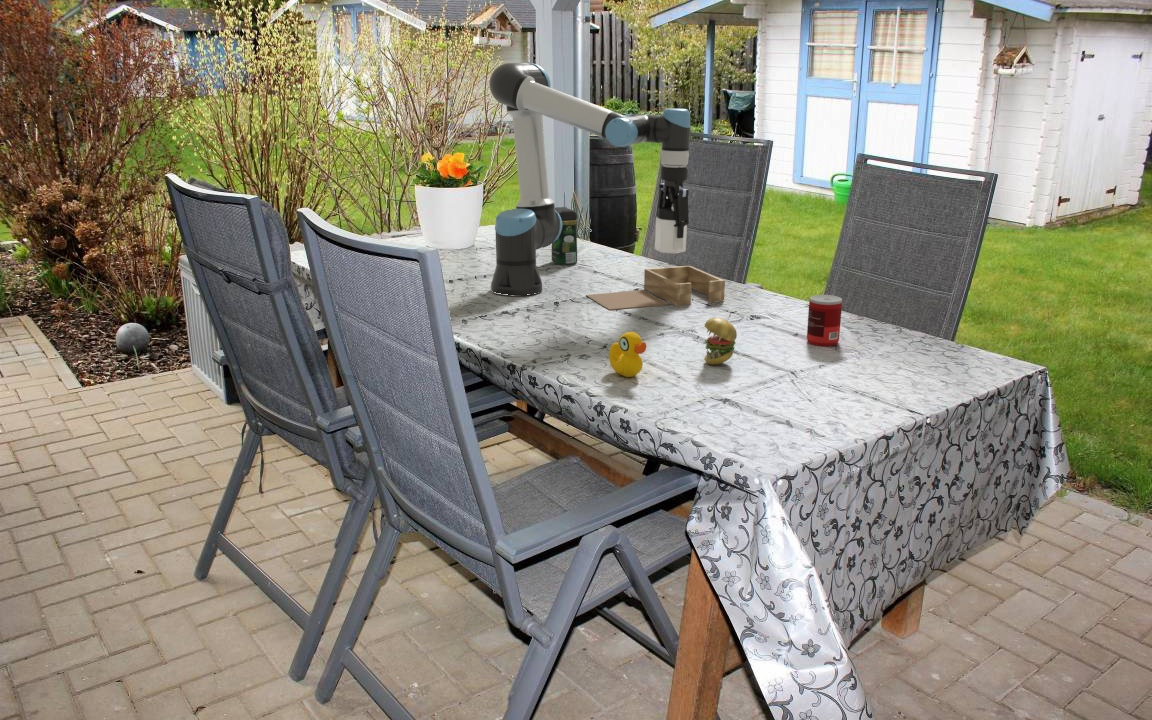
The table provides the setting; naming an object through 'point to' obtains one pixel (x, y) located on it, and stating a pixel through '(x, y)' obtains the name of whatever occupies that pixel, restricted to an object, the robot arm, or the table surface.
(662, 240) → the jar
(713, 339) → the hamburger
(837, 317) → the canned food
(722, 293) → the crate
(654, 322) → the table surface
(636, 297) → the mat
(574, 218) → the coffee jar
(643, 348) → the duckling
